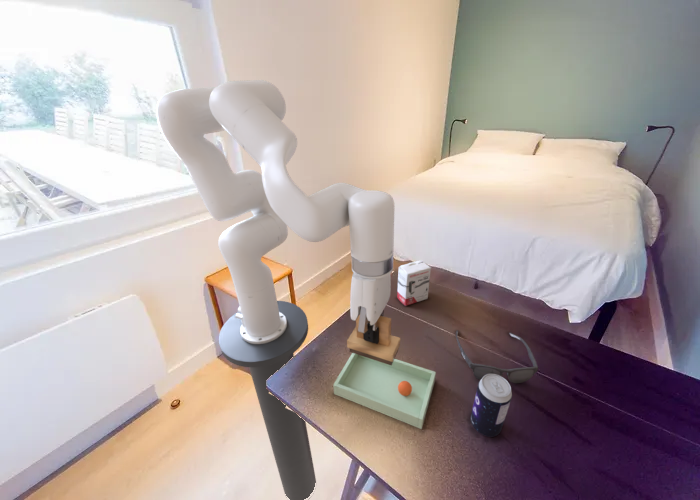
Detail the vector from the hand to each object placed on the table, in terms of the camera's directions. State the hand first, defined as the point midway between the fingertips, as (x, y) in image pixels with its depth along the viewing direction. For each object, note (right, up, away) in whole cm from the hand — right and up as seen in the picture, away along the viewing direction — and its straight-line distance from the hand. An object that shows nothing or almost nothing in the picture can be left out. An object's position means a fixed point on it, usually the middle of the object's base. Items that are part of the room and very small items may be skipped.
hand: (373, 336), depth 65 cm
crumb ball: (+7, -12, +3) cm, 14 cm away
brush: (0, -4, +2) cm, 4 cm away
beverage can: (+22, -17, -2) cm, 28 cm away
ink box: (+15, +3, +34) cm, 37 cm away
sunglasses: (+30, -8, +12) cm, 34 cm away
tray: (+3, -13, +6) cm, 15 cm away
